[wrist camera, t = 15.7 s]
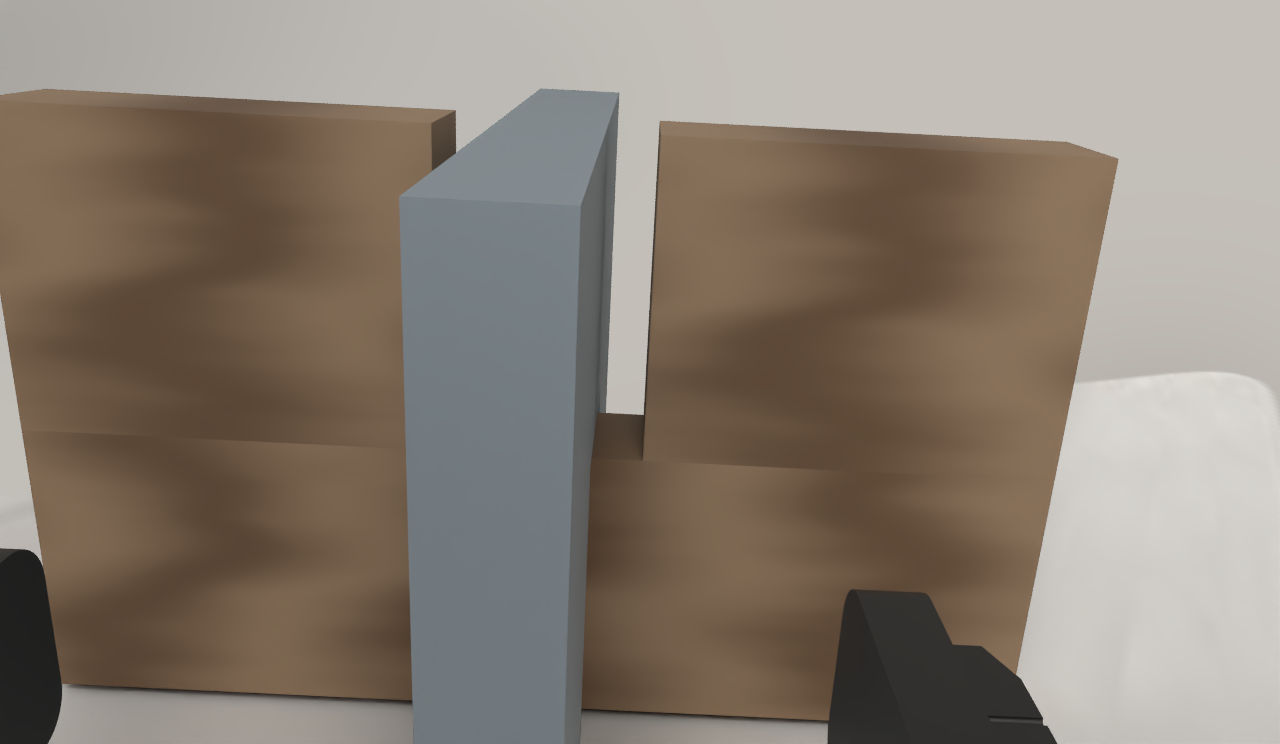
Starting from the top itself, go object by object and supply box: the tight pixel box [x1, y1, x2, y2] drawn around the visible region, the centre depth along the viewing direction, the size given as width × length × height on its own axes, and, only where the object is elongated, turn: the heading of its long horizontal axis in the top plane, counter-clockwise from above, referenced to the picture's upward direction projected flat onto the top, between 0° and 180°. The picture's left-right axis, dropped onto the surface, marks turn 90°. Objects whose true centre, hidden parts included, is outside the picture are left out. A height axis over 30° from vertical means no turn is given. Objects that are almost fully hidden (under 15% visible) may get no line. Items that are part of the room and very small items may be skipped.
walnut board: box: [0, 89, 1118, 720], centre depth 21 cm, size 20×2×12 cm, turn 89°
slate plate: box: [399, 89, 619, 744], centre depth 21 cm, size 2×16×12 cm, turn 179°
